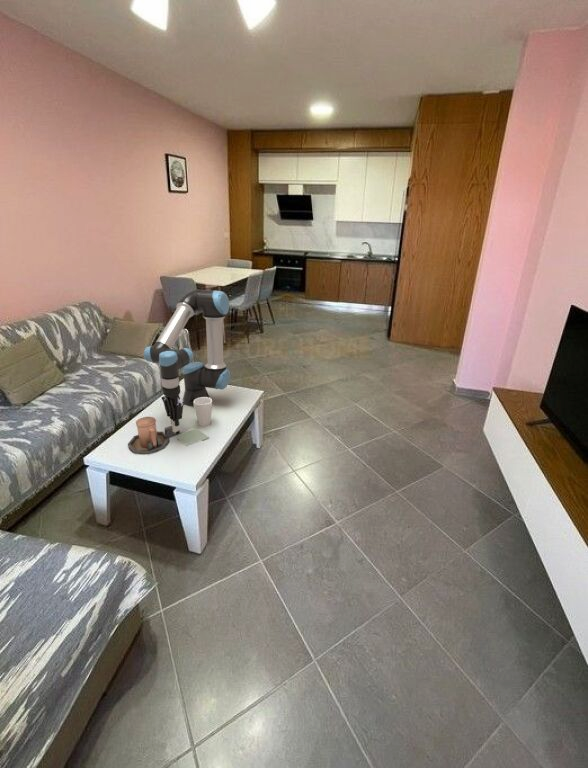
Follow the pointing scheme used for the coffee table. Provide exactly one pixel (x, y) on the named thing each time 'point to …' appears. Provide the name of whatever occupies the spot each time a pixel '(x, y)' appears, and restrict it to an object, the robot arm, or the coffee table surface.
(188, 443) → the mat
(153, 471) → the coffee table surface
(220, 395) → the coffee table surface
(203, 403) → the foam cup
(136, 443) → the base plate
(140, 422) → the terracotta mug
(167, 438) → the collar
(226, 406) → the coffee table surface
